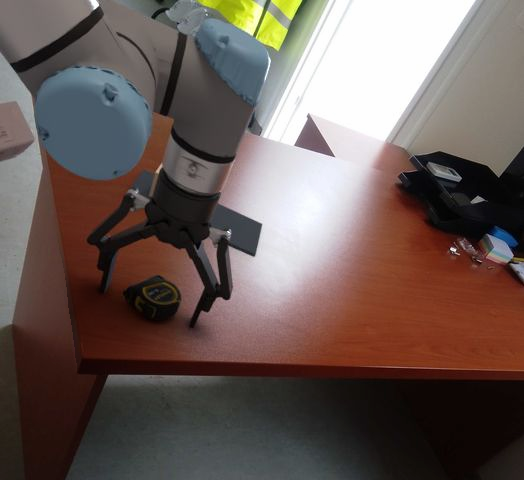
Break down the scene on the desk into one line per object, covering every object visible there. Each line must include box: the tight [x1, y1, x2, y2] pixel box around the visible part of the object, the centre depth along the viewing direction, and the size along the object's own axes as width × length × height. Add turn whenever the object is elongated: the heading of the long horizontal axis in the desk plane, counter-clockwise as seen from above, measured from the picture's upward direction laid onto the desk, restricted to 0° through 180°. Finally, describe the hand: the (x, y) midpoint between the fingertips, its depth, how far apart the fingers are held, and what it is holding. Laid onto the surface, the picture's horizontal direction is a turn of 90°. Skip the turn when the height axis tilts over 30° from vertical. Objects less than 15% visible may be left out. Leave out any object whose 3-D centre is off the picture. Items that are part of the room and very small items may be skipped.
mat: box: [123, 169, 263, 257], centre depth 89 cm, size 26×12×1 cm, turn 85°
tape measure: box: [122, 274, 182, 321], centre depth 66 cm, size 7×7×4 cm
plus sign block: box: [149, 162, 163, 197], centre depth 86 cm, size 5×5×5 cm
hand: (149, 305), depth 67 cm, fingers open, 13 cm apart
